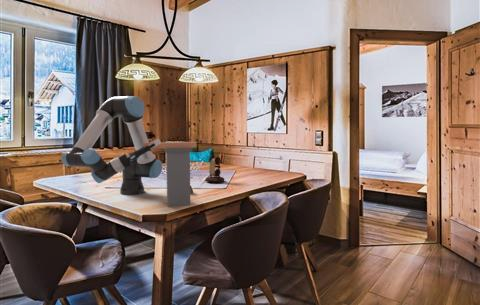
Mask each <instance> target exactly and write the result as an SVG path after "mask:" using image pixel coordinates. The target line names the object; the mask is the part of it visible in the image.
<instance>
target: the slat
mask: <svg viewBox="0 0 480 305" xmlns="http://www.w3.org/2000/svg"><path fill="white" fill-rule="evenodd" d="M151 143H152V141H151V142H149V141H148V143H144V147H146V146H148V145H149V144H151ZM164 148H192V149H194V148H197V142H196V141H163V142H162V141H161V144H159V145H158V146H156V147H154V148H153V149H164Z"/></svg>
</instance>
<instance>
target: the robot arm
mask: <svg viewBox="0 0 480 305" xmlns="http://www.w3.org/2000/svg"><path fill="white" fill-rule="evenodd" d="M145 109H146V108H145V104H144V102H143V100H142V99H141V98H140V97H138V96H133V95H130V96H129V95H126V96H113V97H110V98H108V99H107V100H106V101H104V102H103V103H102V104H101V105H100V106H99V108H98V109H97V110H96V111H95V116H94V118H93V119H92V120H91V122H90V124H88V126H87V128H86V129H85V130H84V132H83V133H82V134H81V136H80V137H79V139H78V140H77V142H76V143H75V144H74V145H73V147H72V149H71V150H70V151H65V152H64V153H62V155H61V158H60V159H61V162H62V164H63V165H64V166H66V167H71V168H73V167H75V168H89V169H90V170H91V173H90V174H91V176H92V178H93V180H94V182H96V183H97V184H101V183H103V182H105V181H107V180H109V179H111V178H112V177H113V176H115V175H117V174H121V173H122V183H121V185H120V189H119V193H120V195H121V194H122V195H138V194H143V193H145V186H144V184H143V181H142V178H149V179H156V178H158V177H159V176H160V175H161V173H162V170H163V162H162V161H161V160H159V159H157V156H156V155H155V154H154V153H153V152H152V149H155V148H154V147H156V146H158V145H159V144H161V142H162V141H161V140H160V138H156V139H154V140H152V141H151V142H152V143H151V144H149V145H148V146H146V147H144V143H148V142H149V139H148V136H147V133H146V130H145V127H144V123H143V121H142V120H143V117H144V114H145ZM115 118H121V120H122V122H123V123H124V124H126V125H127V128H128V132H129V134H130V137H131V140H132V142H133V146H134V148H135V150H134V151H133V152H130V153H129V154H128V155H127V154H126V153H122V154H120V155H118V156H117V157H114V158H113V159H111V160H109V161H107V162H106V161H105V159H104V158H103V156H101V154H100V153H99V152H97V150H96V149H94V148H93V146H94V145H95V143H96V142H97V141H98V139H99V138H100V136H101V135H102V134H103V132H104V130H105V129H106V127H107V126H108V124H109V123H111V122H113V120H115Z"/></svg>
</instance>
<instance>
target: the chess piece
mask: <svg viewBox="0 0 480 305" xmlns="http://www.w3.org/2000/svg"><path fill="white" fill-rule="evenodd" d="M208 161H209V169H208V170H209V171H208V172H209V176H208V177H206V178H205V183H207V182H210V183H213V184H216V183H221V182H222V183H225V178H224V177H222V176H221V164H220V163H221V157H219V156H216V157H215V156H213V155H211V156H210V157H209V158H208Z"/></svg>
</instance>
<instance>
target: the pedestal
mask: <svg viewBox="0 0 480 305" xmlns="http://www.w3.org/2000/svg"><path fill="white" fill-rule="evenodd" d="M163 151H164V152H165V154H166V156H165V158H166V160H165V161H166V163H165V164H166V165H165V167H166V204H167V208H176V206H177V207H187V206H189V207H190V206H191V193H190V186H191V153H193V148H163Z"/></svg>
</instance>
